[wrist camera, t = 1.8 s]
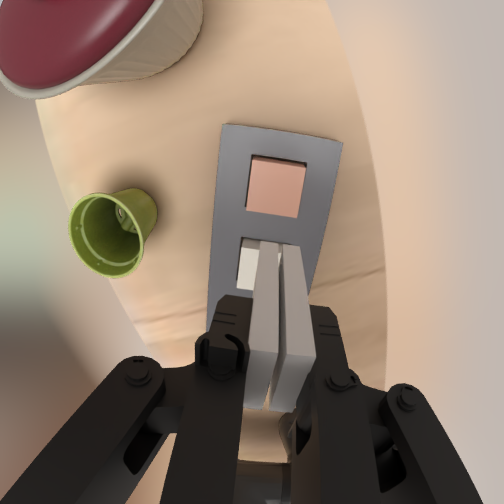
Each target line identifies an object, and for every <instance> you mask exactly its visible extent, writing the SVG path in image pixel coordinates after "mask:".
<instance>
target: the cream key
mask: <svg viewBox="0 0 504 504" xmlns="http://www.w3.org/2000/svg"><path fill="white" fill-rule="evenodd" d="M261 241H266V242H273V243H278V267H279V262H280V257H281V251H282V246H283V244H286V245H289V244H287V243H280V242H274V241H267V240H260V239H253V238H247V237H244V239H243V243H242V247H241V255H240V264H239V272H238V280H237V288H240V289H247V290H253V289H254V283H255V276H256V270H257V263H258V257H259V250H260V244H261Z"/></svg>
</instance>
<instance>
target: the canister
mask: <svg viewBox="0 0 504 504" xmlns="http://www.w3.org/2000/svg"><path fill="white" fill-rule="evenodd" d="M202 7H203V3H202V0H3V2H2V4H1V7H0V80H1V82H2V83H3V85H4V86H5V87H6V88H7V89H8V90H9V91H10V92H12V93H13V94H15V95H17V96H19V97H22V98H26V99H45V98H50V97H54V96H57V95H60V94H62V93H65V92H67V91H69V90H71V89H73V88H75V87H77V86H82V85H91V84H102V83H113V82H122V81H131V80H138V79H143V78H145V77H150V76H153V75H154V74H156V73H160V72H162V71H163V70H164V69H166V68H169V67H171V65H172V64H174V63H175V62H177V61H179V59H180V58H181V57H182V56H183V55H185V54H186V52H187V50H188V49H189V48H191V47H192V44H193V42H194V41H195V40H196V38H197V35H198V33H199V32H200V27H201V24H202V22H203V19H202V16H203V8H202Z"/></svg>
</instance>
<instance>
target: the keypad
mask: <svg viewBox="0 0 504 504" xmlns="http://www.w3.org/2000/svg"><path fill="white" fill-rule="evenodd" d="M342 146H343V143H342V142H339V141H336V140H331V139H327V138H322V137H317V136H311V135H306V134H300V133H295V132H288V131H282V130H276V129H269V128H261V127H254V126H245V125H236V124H222V132H221V141H220V150H219V160H218V170H217V180H216V191H215V202H214V214H213V226H212V239H211V254H210V269H209V285H208V304H207V326H206V332H209V329H210V326H211V322H212V319H213V315H214V313H215V309H216V305H217V302H218V301H219V300H220V299H221V298H222V297H223V296H224V295H225V294H228V295H234V296H241V297H248V298H252V296H253V290H247V289H240V288H237V280H238V272H239V262H240V254H241V245H242V237H247V238H253V239H260V240H267V241H274V242H280V243H287V244H289V245H293V246H300V250H301V256H302V262H303V268H304V275H305V281H306V287H307V294H308V295H309V291H310V288H311V284H312V280H313V276H314V272H315V269H316V265H317V261H318V257H319V253H320V249H321V245H322V241H323V237H324V232H325V228H326V224H327V219H328V215H329V210H330V206H331V201H332V197H333V192H334V187H335V182H336V178H337V173H338V167H339V162H340V157H341V152H342ZM253 154H256V155H263V156H270V157H277V158H283V159H289V160H295V161H301V162H304V166H305V167H306V172H305V177H304V183H303V189H302V194H301V199H300V205H299V210H298V215H297V218H293V217H287V216H280V215H274V214H267V213H260V212H253V211H246V207H247V197H248V189H249V182H250V174H251V166H252V159H253Z"/></svg>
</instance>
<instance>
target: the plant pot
mask: <svg viewBox="0 0 504 504" xmlns="http://www.w3.org/2000/svg"><path fill="white" fill-rule="evenodd" d="M119 208H120V209H121V215H122V216H121V217H122V218H121V217H120V215H119V212H118V210H119ZM156 220H157V208H156V205H155V202H154V201H153V199H152V198H151V197H150V196H149V195H147V194H146V193H145V192H144V191H143V190H140V189H136V188H131V189H127V190H123V191H119V192H116V193H112V194H105V193H92V194H89V195H86V196H84V197H83V198H81V199H80V200H79V201H78V202H77V203H76V204H75V205H74V207H73V208H72V211H71V213H70V216H69V221H68V231H69V238H70V241H71V244H72V246H73V249H74V251H75V252H76V254H77V256H78V257H79V258H80V260H81V261H82V262H83V263H84V264H85V265H86V266H87V267H88V268H89V269H90V270H92V271H93V272H95V273H97V274H99V275H101V276H104V277H107V278H121V277H125V276H127V275H129V274H131V273H132V272H133V271H134V270H135V269H136V268H137V267H138V265H139V264H140V262H141V259H142V256H143V252H144V243H145V241H146V239H147V237H148V236H149V234H150V232H151V230H152V229H153V227H154V225H155V223H156ZM134 228H136V229H137V230H135V229H134Z"/></svg>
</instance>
